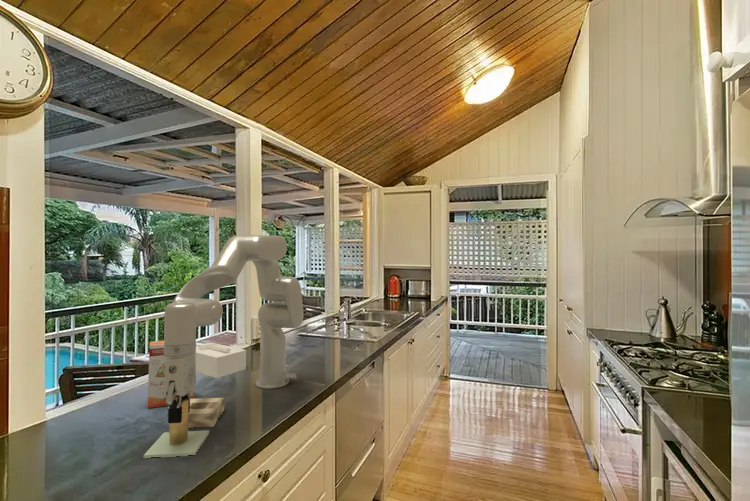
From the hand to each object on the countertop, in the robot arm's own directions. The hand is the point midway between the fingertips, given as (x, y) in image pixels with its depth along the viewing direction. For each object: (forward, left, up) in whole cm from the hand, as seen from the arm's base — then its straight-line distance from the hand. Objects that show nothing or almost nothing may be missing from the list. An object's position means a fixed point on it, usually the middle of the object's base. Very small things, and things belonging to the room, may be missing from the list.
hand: (179, 417), depth 101 cm
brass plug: (0, 0, -6) cm, 6 cm away
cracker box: (+13, -30, -8) cm, 33 cm away
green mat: (0, 0, -7) cm, 7 cm away
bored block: (0, -16, -7) cm, 18 cm away
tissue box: (+10, -68, -8) cm, 69 cm away
